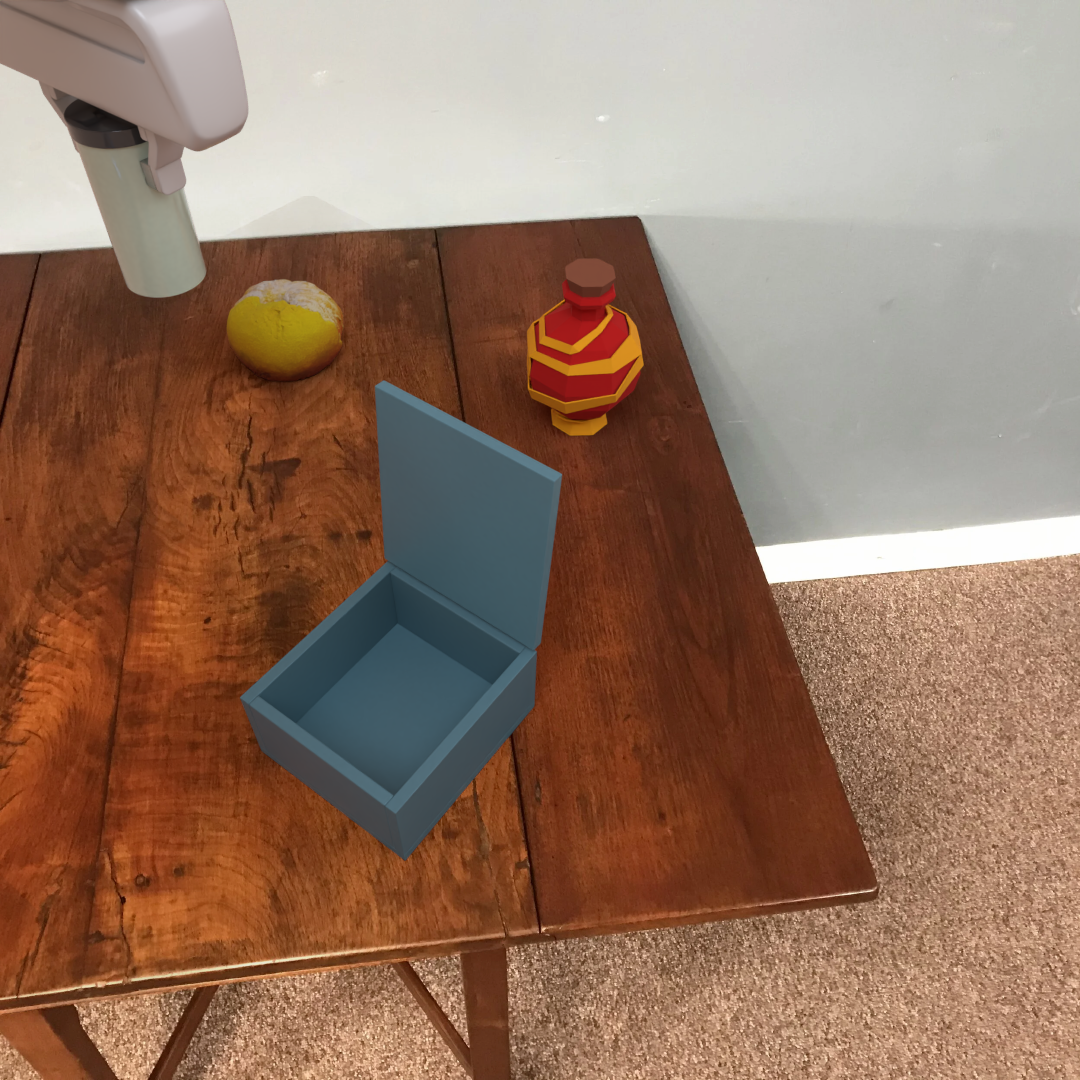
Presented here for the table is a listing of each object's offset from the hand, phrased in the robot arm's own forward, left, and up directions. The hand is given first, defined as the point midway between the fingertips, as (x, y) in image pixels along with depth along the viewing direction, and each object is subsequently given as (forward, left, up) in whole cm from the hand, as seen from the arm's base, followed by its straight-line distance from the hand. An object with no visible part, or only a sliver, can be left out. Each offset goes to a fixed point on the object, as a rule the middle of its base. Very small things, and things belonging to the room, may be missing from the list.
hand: (132, 170), depth 57 cm
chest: (+13, -24, -28) cm, 39 cm away
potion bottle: (+30, +6, -28) cm, 41 cm away
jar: (0, 0, -7) cm, 7 cm away
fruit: (+4, +18, -28) cm, 34 cm away
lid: (+18, -19, -13) cm, 29 cm away
